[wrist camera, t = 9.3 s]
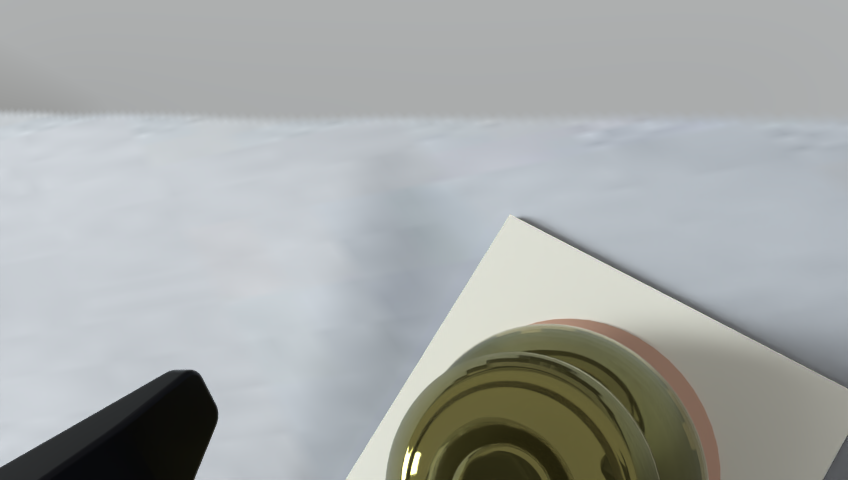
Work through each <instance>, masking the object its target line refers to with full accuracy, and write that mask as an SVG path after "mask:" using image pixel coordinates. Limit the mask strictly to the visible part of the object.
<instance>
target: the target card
mask: <svg viewBox="0 0 848 480" xmlns="http://www.w3.org/2000/svg"><path fill="white" fill-rule="evenodd" d="M534 324H561V325H569V326H575V327H580V328H583V329H587V330H591V331H594V332H596V333H599V334H602V335H604V336H607V337H609V338H611V339H613V340H615V341H617V342H619V343H621V344H622V345H624V346H626V347H628V348H629V349H631V350H632V351H634V352H635V353H637V354H638V355H639V356H640V357H642V358H643V359H644V360H646V361H647V362H648V363H649V364H650V365H651V366H652V367H653V368H655V369H656V370H657V371H658V372H659V373H660V374H661V376H662V377H663V378H664V379H665V380H666V381H667V382H668V383H669V385H670V386H671V387H672V388H673V390H674V391H675V392H676V394H677V395H678V397H679V398H680V400H681V401H682V403H683V404H684V406H685V407H686V409H687V411H688V413H689V415H690V417H691V419H692V421H693V423H694V425H695V428H696V430H697V432H698V435H699V438H700V441H701V444H702V447H703V450H704V454H705V459H706V463H707V469H708V476H709V480H823V479H824V477H825V475H826V473H827V471H828V470H829V468H830V466H831V464H832V462H833V460H834V459H835V457H836V455H837V453H838V451H839V450H840V448H841V446H842V444H843V442H844V440H845V439H846V437H847V435H848V388H846V387H844V386H842V385H840V384H838V383H836V382H834V381H832V380H830V379H828V378H826V377H824V376H822V375H820V374H818V373H817V372H815V371H813V370H811V369H809V368H807V367H805V366H803V365H801V364H799V363H797V362H795V361H793V360H791V359H789V358H787V357H786V356H784V355H782V354H780V353H778V352H776V351H774V350H772V349H770V348H768V347H766V346H764V345H762V344H760V343H758V342H756V341H755V340H753V339H751V338H749V337H747V336H745V335H743V334H741V333H739V332H737V331H735V330H733V329H731V328H729V327H727V326H725V325H724V324H722V323H720V322H718V321H716V320H714V319H712V318H710V317H708V316H706V315H704V314H702V313H700V312H698V311H696V310H694V309H693V308H691V307H689V306H687V305H685V304H683V303H681V302H679V301H677V300H675V299H673V298H671V297H669V296H667V295H665V294H663V293H662V292H660V291H658V290H656V289H654V288H652V287H650V286H648V285H646V284H644V283H642V282H640V281H638V280H636V279H634V278H632V277H630V276H629V275H627V274H625V273H623V272H621V271H619V270H617V269H615V268H613V267H611V266H609V265H607V264H605V263H603V262H601V261H599V260H598V259H596V258H594V257H592V256H590V255H588V254H586V253H584V252H582V251H580V250H578V249H576V248H574V247H572V246H570V245H568V244H567V243H565V242H563V241H561V240H559V239H557V238H555V237H553V236H551V235H549V234H547V233H545V232H543V231H541V230H539V229H537V228H536V227H534V226H532V225H530V224H528V223H526V222H524V221H522V220H520V219H518V218H516V217H514V216H512V215H509V217H508V218H507V220H506V221H505V223H504V225H503V226H502V228H501V230H500V231H499V233H498V234H497V236H496V238H495V239H494V241H493V242H492V244H491V246H490V247H489V249H488V251H487V252H486V254H485V255H484V257H483V259H482V260H481V262H480V263H479V265H478V267H477V268H476V270H475V272H474V273H473V275H472V276H471V278H470V280H469V281H468V283H467V284H466V286H465V288H464V289H463V291H462V293H461V294H460V296H459V297H458V299H457V301H456V302H455V304H454V305H453V307H452V309H451V310H450V312H449V313H448V315H447V317H446V318H445V320H444V322H443V323H442V325H441V326H440V328H439V330H438V331H437V333H436V334H435V336H434V338H433V339H432V341H431V343H430V344H429V346H428V347H427V349H426V351H425V352H424V354H423V355H422V357H421V359H420V360H419V362H418V364H417V365H416V367H415V368H414V370H413V372H412V373H411V375H410V376H409V378H408V380H407V381H406V383H405V385H404V386H403V388H402V389H401V391H400V393H399V394H398V396H397V397H396V399H395V401H394V402H393V404H392V406H391V407H390V409H389V410H388V412H387V414H386V415H385V417H384V418H383V420H382V422H381V423H380V425H379V427H378V428H377V430H376V431H375V433H374V435H373V436H372V438H371V439H370V441H369V443H368V444H367V446H366V447H365V449H364V451H363V452H362V454H361V456H360V457H359V459H358V460H357V462H356V464H355V465H354V467H353V468H352V470H351V472H350V473H349V475H348V477H347V478H346V480H386V470H387V463H388V458H389V453H390V450H391V446H392V443H393V440H394V437H395V435H396V432H397V430H398V428H399V425H400V423H401V421H402V419H403V418H404V416H405V414H406V412H407V411H408V409H409V408H410V406H411V405H412V403H413V402H414V401H415V400H416V398H417V397H418V396H419V395H420V393H421V392H422V391H423V390H424V389H425V388H426V387H427V386H428V385H429V384H430V383H432V382H433V381H434V380H435V379H436V378H438V377H439V376H440V375H442V374H443V373H444V372H445V371H446V370H447V368H448V367H449V366H450V365H451V364H452V363H453V362H454V361H455V360H456V359H457V358H458V357H460V356H461V355H462V354H463V353H464V352H466V351H467V350H468V349H470V348H471V347H473V346H474V345H476V344H477V343H479V342H481V341H482V340H484V339H486V338H488V337H490V336H492V335H494V334H497V333H500V332H502V331H505V330H508V329H512V328H516V327H520V326H526V325H534Z"/></svg>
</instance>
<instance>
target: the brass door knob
mask: <svg viewBox="0 0 848 480" xmlns="http://www.w3.org/2000/svg"><path fill="white" fill-rule="evenodd" d="M386 480H709V476H708V469H707V463H706V459H705V454H704V450H703V447H702V444H701V441H700V438H699V435H698V432H697V430H696V428H695V425H694V423H693V421H692V419H691V417H690V415H689V413H688V411H687V409H686V407H685V406H684V404H683V403H682V401H681V400H680V398H679V397H678V395H677V394H676V392H675V391H674V390H673V388H672V387H671V386H670V385H669V383H668V382H667V381H666V380H665V379H664V378H663V377H662V376H661V374H660V373H659V372H658V371H657V370H656V369H655V368H653V367H652V366H651V365H650V364H649V363H648V362H647V361H646V360H644V359H643V358H642V357H640V356H639V355H638V354H637V353H635V352H634V351H632V350H631V349H629V348H628V347H626V346H624V345H622V344H621V343H619V342H617V341H615V340H613V339H611V338H609V337H607V336H604V335H602V334H599V333H596V332H594V331H591V330H587V329H583V328H580V327H575V326H569V325H561V324H534V325H526V326H520V327H516V328H512V329H508V330H505V331H502V332H500V333H497V334H494V335H492V336H490V337H488V338H486V339H484V340H482V341H481V342H479V343H477V344H476V345H474V346H473V347H471V348H470V349H468V350H467V351H466V352H464V353H463V354H462V355H461V356H460V357H458V358H457V359H456V360H455V361H454V362H453V363H452V364H451V365H450V366H449V367H448V368H447V370H446V371H445V372H444V373H443V374H442V375H440V376H439V377H438V378H436V379H435V380H434V381H433V382H432V383H430V384H429V385H428V386H427V387H426V388H425V389H424V390H423V391H422V392H421V393H420V395H419V396H418V397H417V398H416V400H415V401H414V402H413V403H412V405H411V406H410V408H409V409H408V411H407V412H406V414H405V416H404V418H403V419H402V421H401V423H400V425H399V428H398V430H397V432H396V435H395V437H394V440H393V443H392V446H391V450H390V453H389V458H388V463H387V470H386Z"/></svg>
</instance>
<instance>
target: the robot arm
mask: <svg viewBox="0 0 848 480" xmlns="http://www.w3.org/2000/svg"><path fill="white" fill-rule="evenodd" d="M217 421H218V409H217V406H216V404H215V402H214V400H213V398H212V396H211V394H210V392H209V390H208V388H207V386H206V384H205V382H204V380H203V378H202V377H201V375H200V374H199V373H198V372H196V371H194V370H172V371H169V372H167V373H165V374H163V375H161V376H160V377H158V378H156V379H154V380H153V381H151V382H149V383H147V384H146V385H144V386H142V387H140V388H139V389H137V390H135V391H133V392H132V393H130V394H128V395H126V396H125V397H123V398H121V399H119V400H118V401H116V402H114V403H112V404H111V405H109V406H107V407H105V408H104V409H102V410H100V411H98V412H97V413H95V414H93V415H91V416H90V417H88V418H86V419H84V420H83V421H81V422H79V423H77V424H76V425H74V426H72V427H70V428H69V429H67V430H65V431H63V432H62V433H60V434H58V435H56V436H55V437H53V438H51V439H49V440H48V441H46V442H44V443H42V444H41V445H39V446H37V447H35V448H34V449H32V450H30V451H28V452H27V453H25V454H23V455H21V456H20V457H18V458H16V459H14V460H13V461H11V462H9V463H7V464H6V465H4V466H2V467H0V480H194V479H195V476H196V474H197V471H198V469H199V466H200V464H201V461H202V459H203V456H204V454H205V452H206V449H207V447H208V444H209V442H210V439H211V437H212V434H213V432H214V429H215V427H216V424H217Z"/></svg>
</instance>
